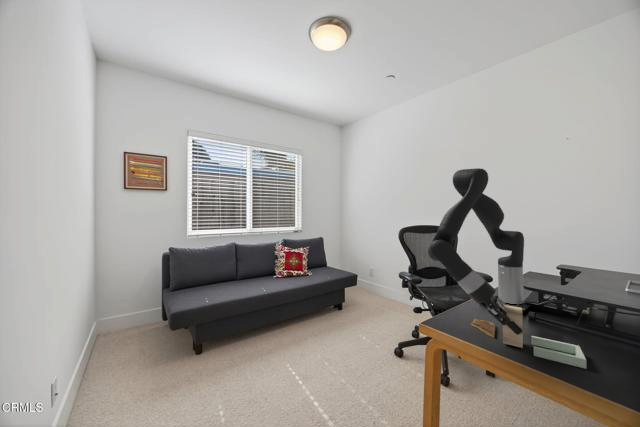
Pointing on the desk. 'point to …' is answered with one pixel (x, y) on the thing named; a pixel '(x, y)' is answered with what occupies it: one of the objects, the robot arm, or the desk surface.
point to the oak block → (508, 334)
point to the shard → (484, 327)
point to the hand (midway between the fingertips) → (519, 329)
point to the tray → (558, 356)
